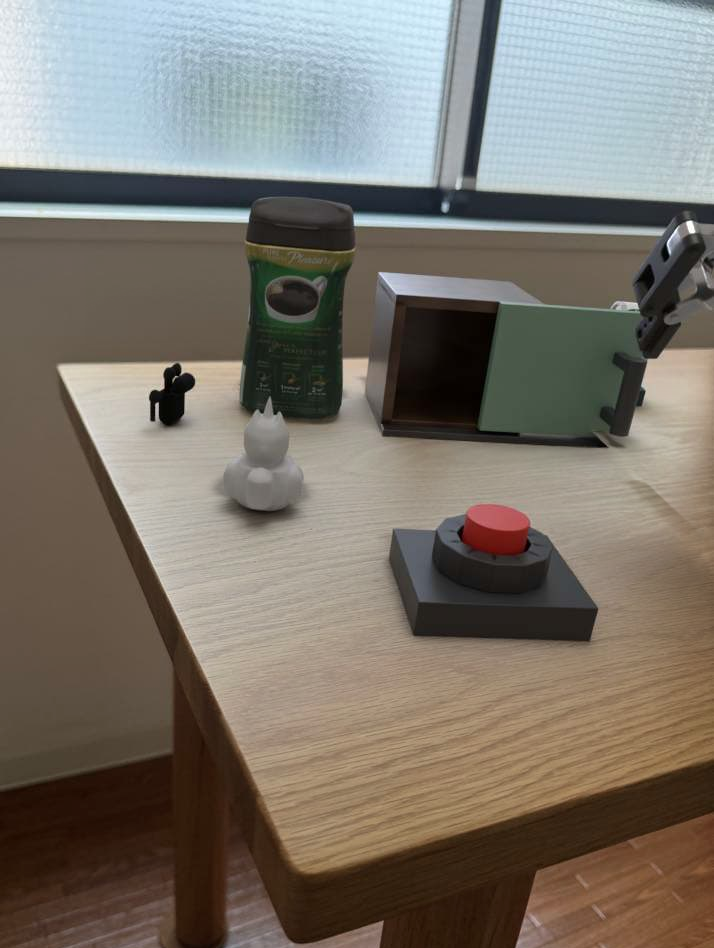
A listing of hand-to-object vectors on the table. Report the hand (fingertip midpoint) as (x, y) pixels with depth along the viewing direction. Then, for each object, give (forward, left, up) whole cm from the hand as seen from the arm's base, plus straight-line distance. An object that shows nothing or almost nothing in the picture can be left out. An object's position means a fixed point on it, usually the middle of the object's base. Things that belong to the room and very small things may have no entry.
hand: (708, 349), depth 56 cm
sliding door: (+2, -16, -12) cm, 20 cm away
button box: (+16, +11, -13) cm, 23 cm away
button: (+16, +11, -10) cm, 21 cm away
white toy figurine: (+29, 0, -13) cm, 32 cm away
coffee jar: (+26, -23, -13) cm, 37 cm away
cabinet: (+7, -23, -13) cm, 28 cm away
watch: (-7, -28, -13) cm, 32 cm away
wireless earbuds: (+36, -18, -13) cm, 42 cm away
